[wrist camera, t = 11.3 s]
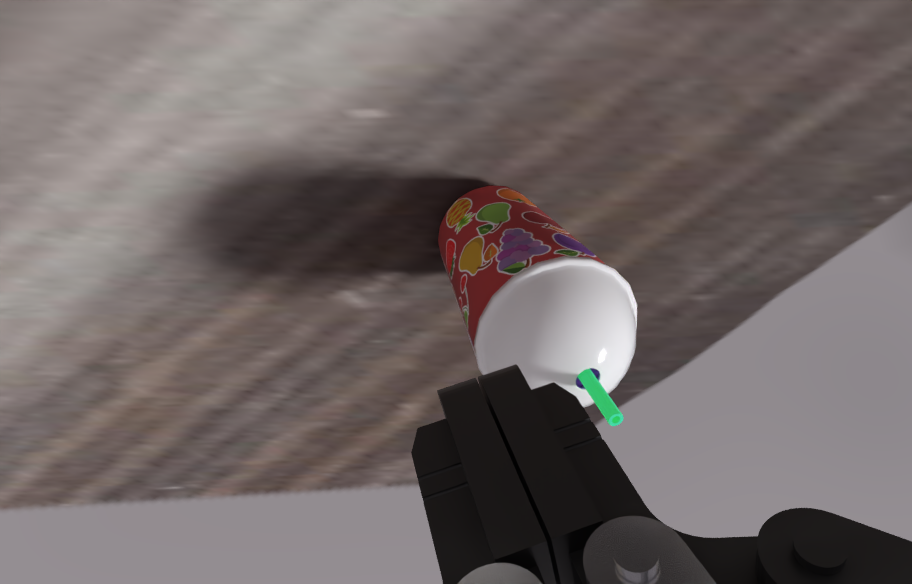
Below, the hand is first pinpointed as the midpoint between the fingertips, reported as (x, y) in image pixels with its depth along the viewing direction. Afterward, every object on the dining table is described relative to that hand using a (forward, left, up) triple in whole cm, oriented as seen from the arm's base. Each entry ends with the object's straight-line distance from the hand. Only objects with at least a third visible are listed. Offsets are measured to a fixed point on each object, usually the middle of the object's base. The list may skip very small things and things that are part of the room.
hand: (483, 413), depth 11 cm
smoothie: (+11, +6, -29) cm, 32 cm away
